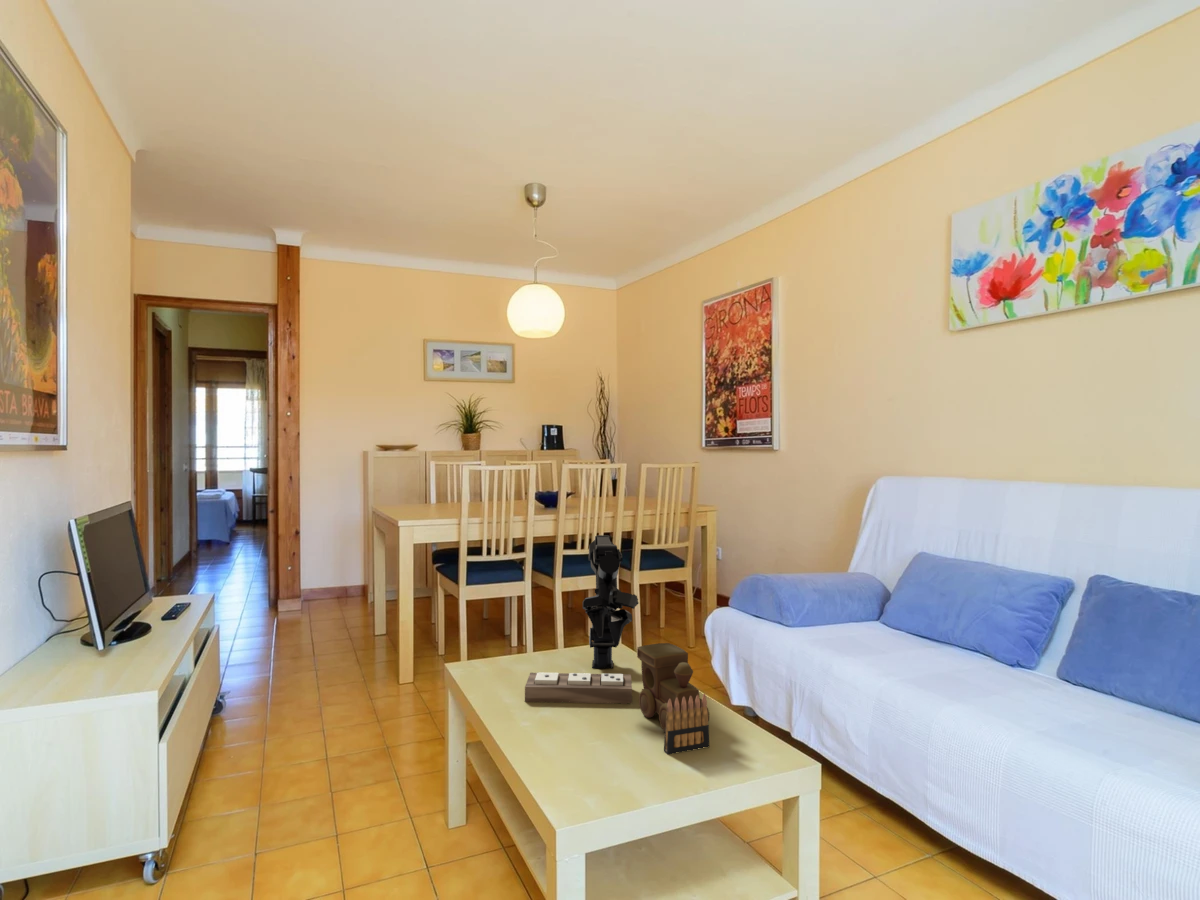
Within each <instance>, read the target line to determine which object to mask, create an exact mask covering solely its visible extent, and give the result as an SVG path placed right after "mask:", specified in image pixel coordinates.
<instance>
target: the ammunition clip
mask: <svg viewBox="0 0 1200 900" xmlns="http://www.w3.org/2000/svg"><path fill="white" fill-rule="evenodd" d="M699 698H700V695H699V696H698V695H697V696H696V700H695V711H694V708H693V699H692V696H690V698H689V702H688V713H687V706H686V699H685V697H683V699H682V704H681V714H680V710H679V701H678V698H676V700H675V705H674V715H673V712H672V702H671V699H669V700H668V705H667V716H666V728H665V731H664V737H663V739H664V740H663V743H664V744H663V752H664V753H665V754H667V755H672V753H674V754H677V753H676V752H679V753H683V752H682V751H685V752H688V751H687V750H691V751H694V750H693V749H697V750H699V749H698V748H703V747H708V746H709V747H710V730H709V729H710V728H709V727H710V726H709V722H708V712H707V707H708V700H707V695H706V694H705V693H703V694H702V698H700V699H702V706H701V711H700V699H699ZM703 749H704V748H703Z"/></svg>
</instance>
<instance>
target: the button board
mask: <svg viewBox="0 0 1200 900" xmlns="http://www.w3.org/2000/svg"><path fill="white" fill-rule="evenodd" d="M558 673H559V681H558V684H535V678H536V675H537V672H529V675H528V677H527V681H526V683H525V686H524V702H525V701H526V702H525V703H561V702H567V704H568V703H569V704H573V703H574V704H576V703H577V704H614V703H621V704H622V705H628V704H627V703H632V704H633V685H632V674H625V673H624V674H623V673H622V674H623V686H615V685H601V674H602V673H591V685H568V677H569V673H570V672H568V673H563V672H562V673H561V672H558ZM621 704H620V705H621Z"/></svg>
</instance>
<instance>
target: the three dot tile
mask: <svg viewBox="0 0 1200 900" xmlns="http://www.w3.org/2000/svg"><path fill="white" fill-rule="evenodd" d="M600 674H601V685H615V686H623V673H600Z"/></svg>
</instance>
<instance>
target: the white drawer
mask: <svg viewBox="0 0 1200 900" xmlns="http://www.w3.org/2000/svg"><path fill="white" fill-rule="evenodd" d="M536 673H537V675H536V678H535V684H558V681H559V673H560V672H543V671H541V672H536Z"/></svg>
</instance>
